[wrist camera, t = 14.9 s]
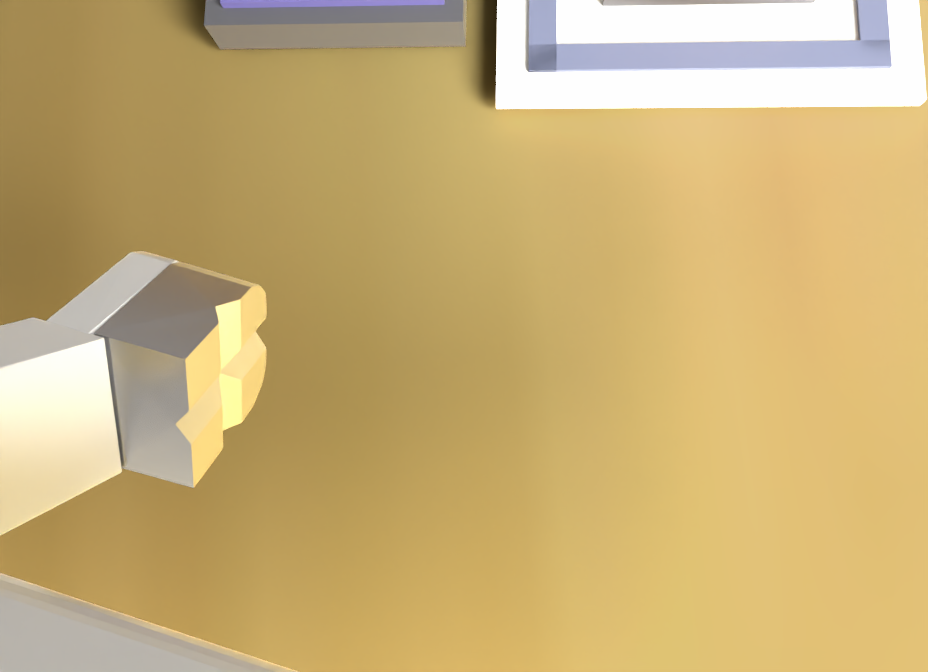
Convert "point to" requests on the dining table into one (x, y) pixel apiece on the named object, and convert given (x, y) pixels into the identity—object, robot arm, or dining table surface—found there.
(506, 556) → the dining table surface
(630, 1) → the stamp
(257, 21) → the ink pad
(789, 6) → the print sheet
